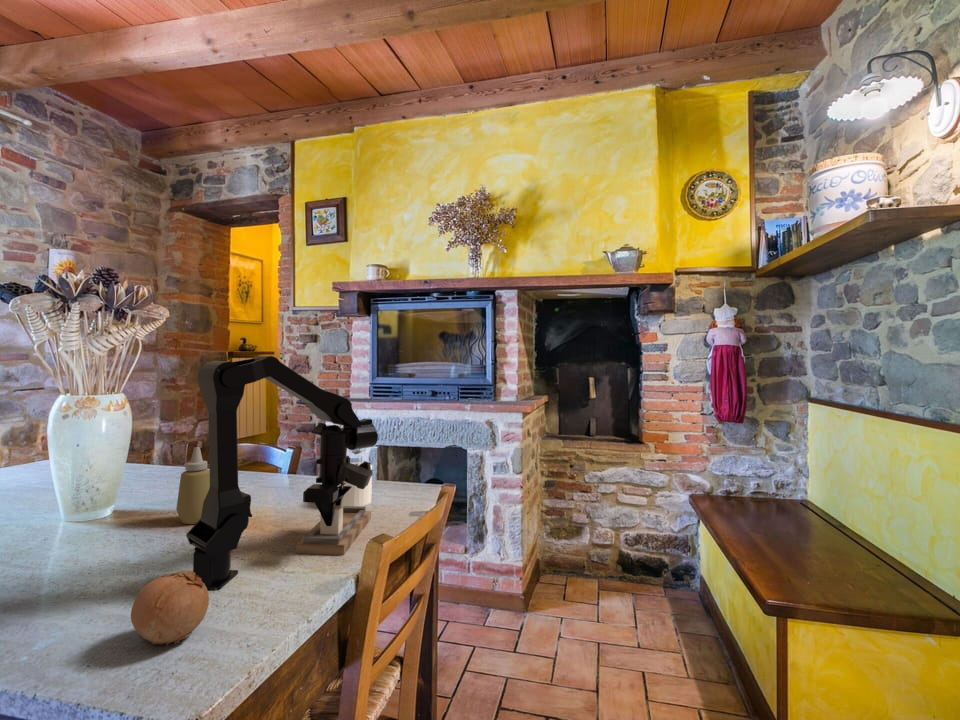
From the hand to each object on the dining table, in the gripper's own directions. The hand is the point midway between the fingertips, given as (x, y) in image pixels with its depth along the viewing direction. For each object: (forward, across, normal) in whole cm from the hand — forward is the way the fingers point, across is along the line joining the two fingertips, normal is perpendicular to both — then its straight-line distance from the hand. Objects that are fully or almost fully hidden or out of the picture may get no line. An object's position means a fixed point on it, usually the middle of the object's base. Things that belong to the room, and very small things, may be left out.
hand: (331, 523), depth 105 cm
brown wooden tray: (+4, +4, 0) cm, 6 cm away
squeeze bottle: (+4, +10, +37) cm, 39 cm away
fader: (+2, 0, 0) cm, 2 cm away
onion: (+4, -37, +11) cm, 39 cm away
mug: (+4, +29, +4) cm, 30 cm away
